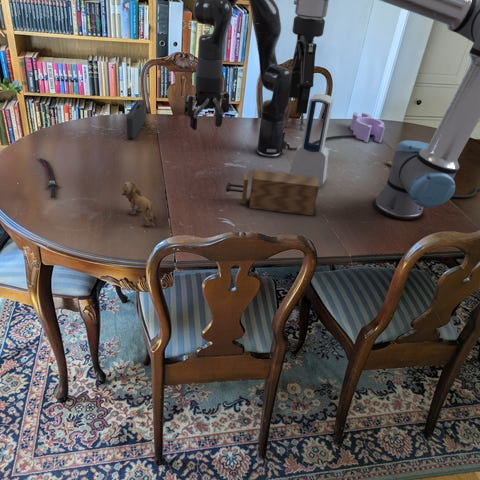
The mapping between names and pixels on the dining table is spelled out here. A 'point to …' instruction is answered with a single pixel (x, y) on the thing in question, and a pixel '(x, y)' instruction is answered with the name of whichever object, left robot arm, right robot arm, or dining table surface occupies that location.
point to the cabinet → (284, 192)
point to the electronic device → (313, 145)
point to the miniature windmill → (294, 115)
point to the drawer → (241, 187)
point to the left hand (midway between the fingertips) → (206, 127)
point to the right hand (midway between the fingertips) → (297, 105)
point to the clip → (367, 127)
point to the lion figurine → (137, 201)
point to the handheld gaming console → (135, 119)
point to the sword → (52, 181)
